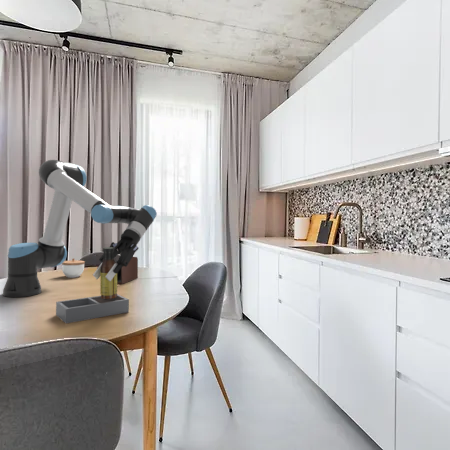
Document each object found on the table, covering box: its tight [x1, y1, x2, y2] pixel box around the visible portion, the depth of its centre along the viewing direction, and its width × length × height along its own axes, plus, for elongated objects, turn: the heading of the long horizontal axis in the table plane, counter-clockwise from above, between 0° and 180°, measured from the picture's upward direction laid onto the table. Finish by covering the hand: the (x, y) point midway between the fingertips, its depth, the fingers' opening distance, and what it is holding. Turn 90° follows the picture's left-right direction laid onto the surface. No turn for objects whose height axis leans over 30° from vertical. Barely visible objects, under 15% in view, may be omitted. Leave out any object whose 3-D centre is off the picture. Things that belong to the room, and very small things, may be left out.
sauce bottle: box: [99, 246, 118, 299], centre depth 125 cm, size 7×6×20 cm
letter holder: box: [117, 256, 139, 285], centre depth 187 cm, size 10×20×14 cm, turn 170°
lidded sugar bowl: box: [61, 258, 86, 279], centre depth 194 cm, size 13×13×11 cm
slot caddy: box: [55, 293, 130, 324], centre depth 122 cm, size 12×23×5 cm, turn 132°
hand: (101, 278), depth 122 cm, fingers closed on sauce bottle, 6 cm apart
